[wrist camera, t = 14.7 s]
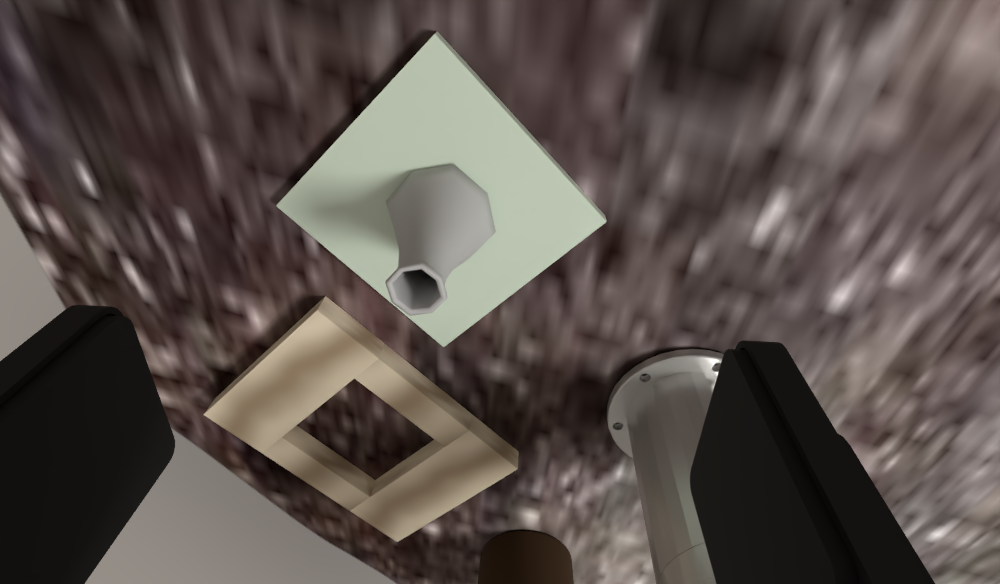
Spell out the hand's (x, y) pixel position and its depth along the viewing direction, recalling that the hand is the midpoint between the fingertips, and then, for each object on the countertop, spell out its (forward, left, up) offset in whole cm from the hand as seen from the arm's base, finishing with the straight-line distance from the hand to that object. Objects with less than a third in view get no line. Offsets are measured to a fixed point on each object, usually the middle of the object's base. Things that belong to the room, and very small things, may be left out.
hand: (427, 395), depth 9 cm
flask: (-4, +10, -30) cm, 31 cm away
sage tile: (-4, +10, -30) cm, 32 cm away
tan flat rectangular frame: (-14, +30, -30) cm, 45 cm away
